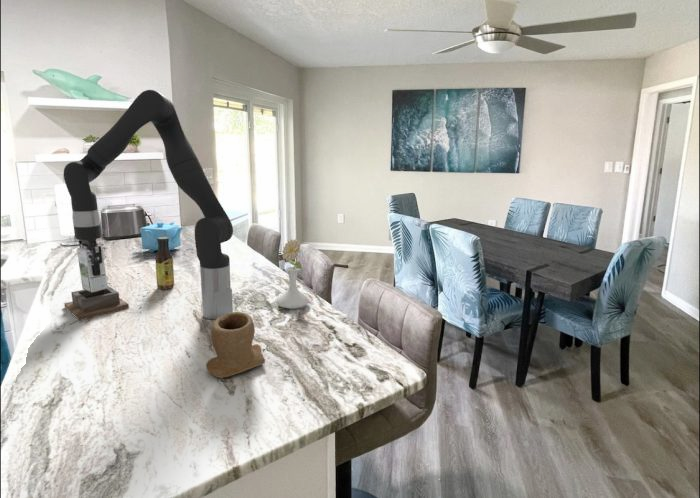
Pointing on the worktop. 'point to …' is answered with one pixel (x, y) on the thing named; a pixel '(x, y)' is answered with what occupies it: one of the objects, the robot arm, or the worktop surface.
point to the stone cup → (233, 345)
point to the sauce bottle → (164, 265)
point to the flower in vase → (292, 279)
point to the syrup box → (87, 277)
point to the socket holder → (95, 303)
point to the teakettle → (160, 235)
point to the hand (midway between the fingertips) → (93, 273)
